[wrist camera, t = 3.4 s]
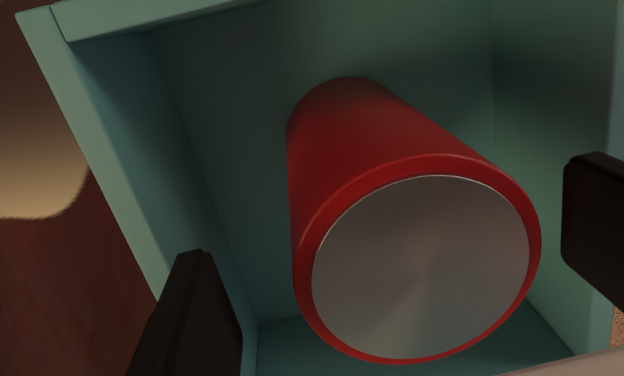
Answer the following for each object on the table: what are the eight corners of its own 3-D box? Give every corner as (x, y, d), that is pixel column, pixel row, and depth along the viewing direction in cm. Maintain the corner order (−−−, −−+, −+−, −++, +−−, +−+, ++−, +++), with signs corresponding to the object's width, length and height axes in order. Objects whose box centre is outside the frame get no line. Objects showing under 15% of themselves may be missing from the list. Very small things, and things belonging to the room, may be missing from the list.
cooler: (127, 12, 17) (11, 13, 9) (497, -82, 16) (670, -156, 9) (249, 326, 24) (236, 462, 17) (506, 266, 24) (606, 378, 16)
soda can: (270, 93, 18) (261, 195, 8) (398, 62, 17) (550, 125, 8) (301, 206, 20) (323, 392, 10) (414, 179, 20) (544, 341, 10)
